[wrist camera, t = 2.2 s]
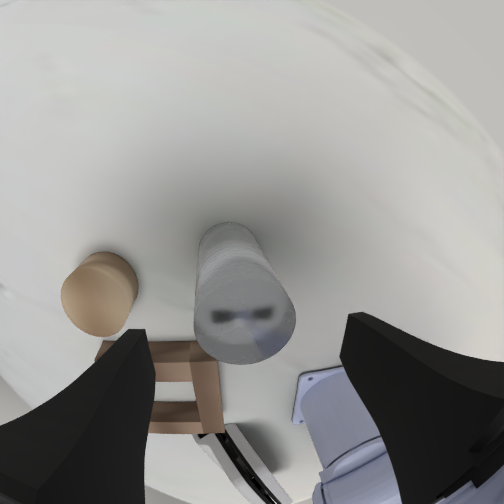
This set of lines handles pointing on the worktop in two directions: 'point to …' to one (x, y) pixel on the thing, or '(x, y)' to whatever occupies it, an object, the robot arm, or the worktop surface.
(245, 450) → the hinge
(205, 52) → the worktop surface
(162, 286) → the worktop surface
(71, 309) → the oak stub
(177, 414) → the socket block
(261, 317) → the tall pin
